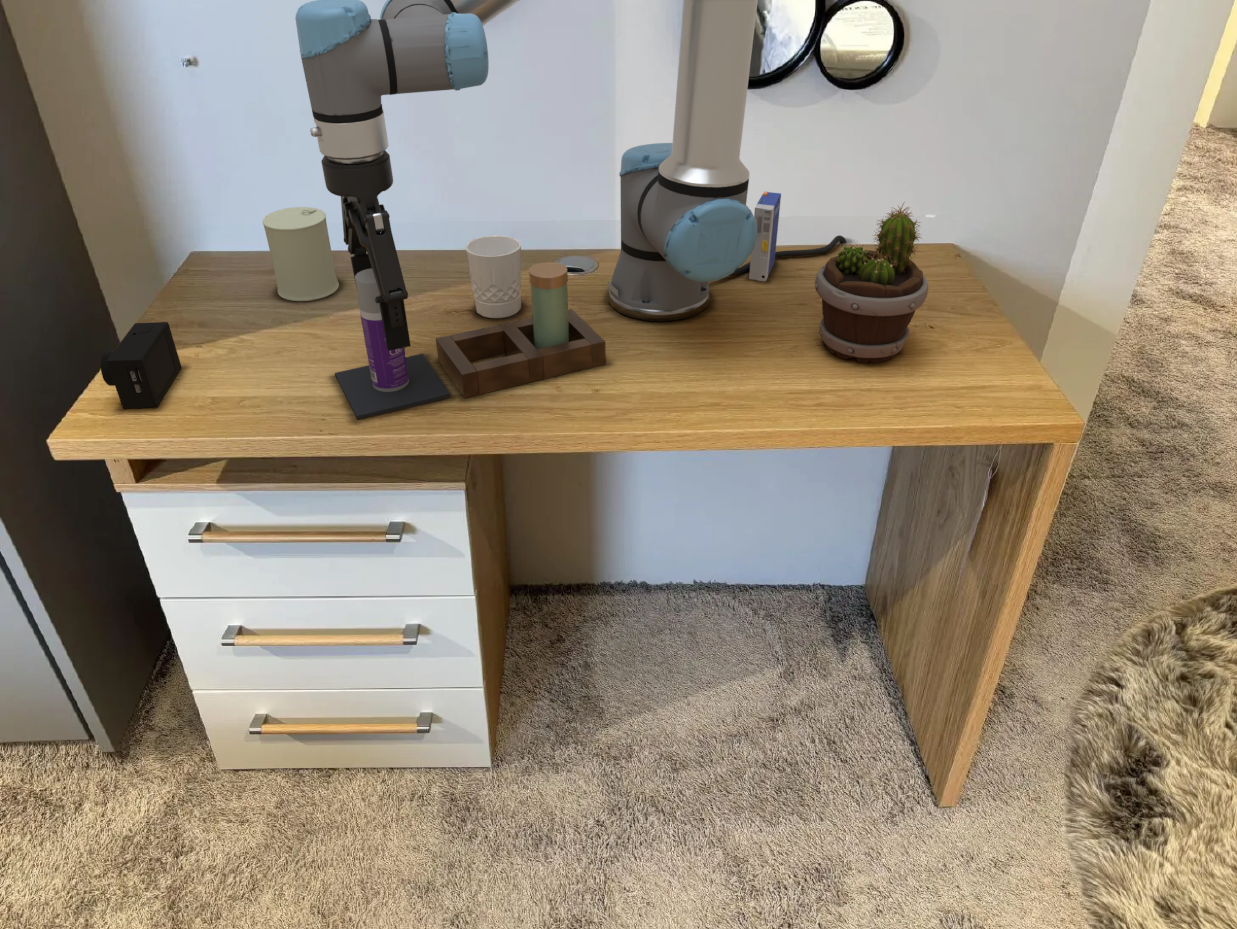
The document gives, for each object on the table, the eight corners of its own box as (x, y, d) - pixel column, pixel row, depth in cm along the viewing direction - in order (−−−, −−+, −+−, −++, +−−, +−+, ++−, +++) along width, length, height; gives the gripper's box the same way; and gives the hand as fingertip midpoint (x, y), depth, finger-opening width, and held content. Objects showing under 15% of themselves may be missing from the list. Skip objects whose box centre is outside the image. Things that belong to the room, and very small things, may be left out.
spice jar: (561, 344, 134) (558, 259, 127) (576, 359, 130) (573, 273, 123) (528, 351, 132) (523, 266, 125) (542, 367, 129) (537, 280, 121)
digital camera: (140, 369, 129) (125, 322, 125) (182, 367, 129) (168, 320, 125) (112, 409, 120) (95, 360, 116) (157, 408, 120) (141, 359, 116)
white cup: (534, 303, 145) (530, 240, 139) (507, 324, 139) (502, 259, 133) (489, 294, 148) (484, 231, 142) (461, 314, 142) (455, 250, 136)
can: (351, 284, 150) (338, 210, 144) (306, 306, 144) (291, 230, 137) (310, 272, 155) (295, 199, 148) (265, 292, 148) (247, 217, 141)
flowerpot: (852, 383, 125) (875, 236, 113) (786, 334, 136) (802, 196, 125) (939, 360, 130) (970, 217, 119) (869, 314, 141) (891, 180, 130)
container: (401, 393, 122) (384, 284, 113) (366, 390, 123) (347, 281, 114) (414, 375, 126) (399, 268, 117) (381, 372, 126) (363, 265, 118)
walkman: (757, 260, 158) (764, 189, 151) (774, 262, 157) (781, 191, 150) (748, 279, 152) (754, 205, 145) (765, 281, 151) (772, 207, 144)
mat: (423, 357, 131) (422, 353, 131) (450, 397, 122) (450, 393, 122) (335, 376, 127) (334, 372, 126) (357, 420, 118) (356, 416, 118)
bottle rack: (572, 330, 137) (571, 308, 135) (605, 364, 129) (605, 341, 127) (438, 361, 130) (435, 338, 128) (464, 398, 122) (461, 374, 120)
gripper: (298, 129, 115) (331, 292, 127) (347, 192, 97) (380, 375, 109) (360, 121, 118) (386, 281, 130) (419, 180, 99) (443, 360, 112)
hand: (383, 324), depth 119 cm, fingers open, 13 cm apart
